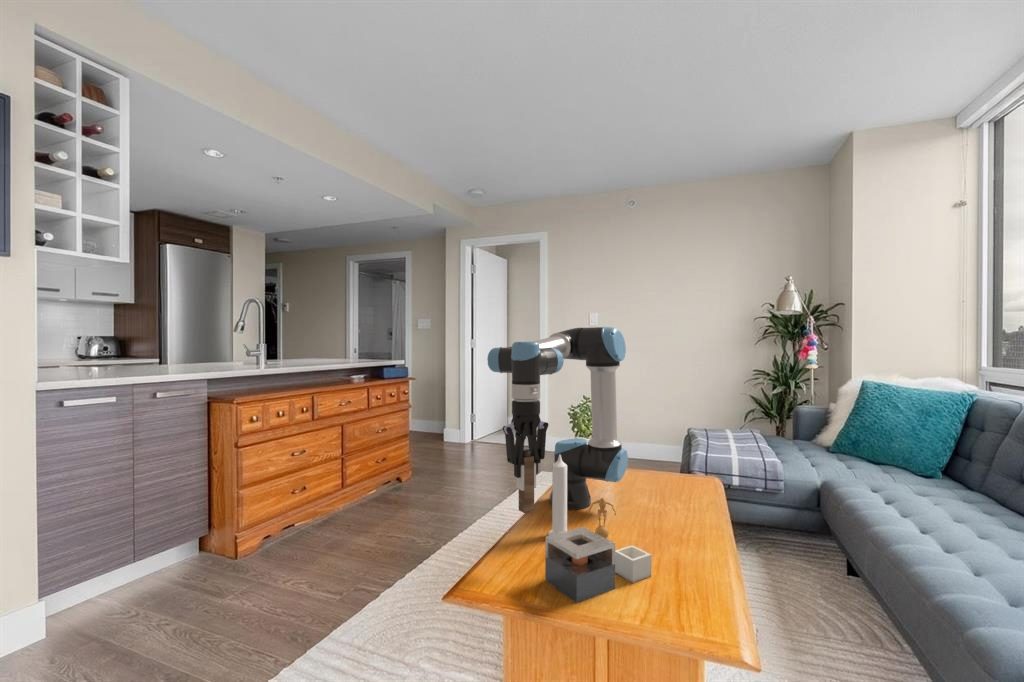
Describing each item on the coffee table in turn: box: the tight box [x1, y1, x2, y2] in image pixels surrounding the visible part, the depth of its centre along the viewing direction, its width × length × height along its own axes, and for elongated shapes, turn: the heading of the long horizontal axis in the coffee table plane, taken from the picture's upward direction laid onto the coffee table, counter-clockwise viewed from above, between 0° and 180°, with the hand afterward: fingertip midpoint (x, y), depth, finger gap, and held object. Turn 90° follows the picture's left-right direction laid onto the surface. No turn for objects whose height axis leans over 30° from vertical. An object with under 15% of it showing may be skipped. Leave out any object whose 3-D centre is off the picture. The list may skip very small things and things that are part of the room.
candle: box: [547, 454, 568, 536], centre depth 147 cm, size 7×7×25 cm
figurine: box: [587, 497, 617, 539], centre depth 145 cm, size 8×6×12 cm
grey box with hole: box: [544, 526, 616, 604], centre depth 117 cm, size 12×12×11 cm
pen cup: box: [615, 544, 652, 584], centre depth 123 cm, size 7×7×6 cm
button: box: [572, 545, 588, 567], centre depth 117 cm, size 4×4×6 cm
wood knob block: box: [518, 449, 535, 514], centre depth 127 cm, size 3×3×16 cm
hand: (526, 487), depth 127 cm, fingers closed on wood knob block, 3 cm apart
